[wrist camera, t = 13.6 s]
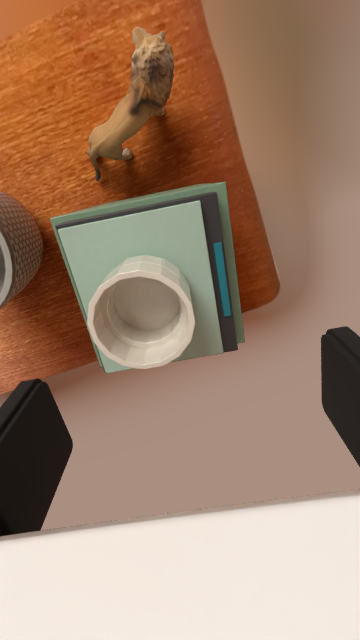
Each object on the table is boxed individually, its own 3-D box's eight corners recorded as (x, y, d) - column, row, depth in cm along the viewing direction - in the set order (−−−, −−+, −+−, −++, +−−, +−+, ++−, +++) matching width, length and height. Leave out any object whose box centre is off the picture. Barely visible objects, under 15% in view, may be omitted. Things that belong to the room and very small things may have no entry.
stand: (205, 182, 39) (225, 181, 24) (220, 287, 45) (245, 342, 29) (97, 204, 40) (49, 218, 25) (125, 305, 46) (100, 367, 30)
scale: (213, 191, 24) (218, 192, 22) (234, 339, 29) (239, 353, 27) (63, 222, 25) (51, 226, 22) (109, 361, 30) (103, 377, 27)
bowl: (182, 245, 23) (184, 261, 18) (197, 328, 26) (202, 359, 21) (92, 263, 23) (72, 282, 19) (116, 342, 26) (104, 376, 21)
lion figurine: (146, 45, 34) (137, 0, 26) (186, 81, 35) (189, 49, 27) (80, 167, 38) (54, 163, 30) (117, 195, 40) (102, 198, 31)
